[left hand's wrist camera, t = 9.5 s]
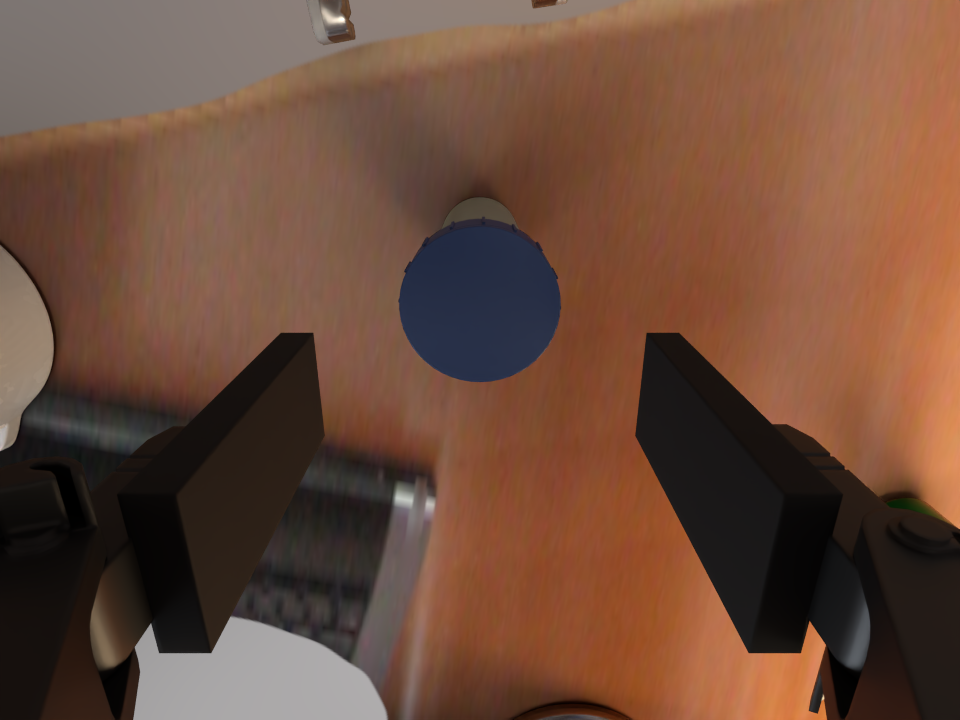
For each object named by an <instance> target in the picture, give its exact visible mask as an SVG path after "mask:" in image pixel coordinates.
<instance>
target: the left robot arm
mask: <svg viewBox="0 0 960 720" xmlns="http://www.w3.org/2000/svg"><path fill="white" fill-rule="evenodd" d="M324 436H325V435H324V426H323V417H322V408H321V398H320V389H319V380H318V371H317V362H316V353H315V344H314V335H313V333H280V334H279V335H278V336H277V337H276V338H275V339H274V340H273V341H272V342H271V343H270V344H269V345H268V346H267V347H266V348H265V349H264V350H263V351H262V352H261V353H260V354H259V355H258V356H257V357H256V358H255V359H254V360H253V361H252V362H251V363H250V364H249V365H248V366H247V367H246V368H245V369H244V370H243V371H242V372H241V373H240V374H239V375H238V376H237V377H236V378H235V379H234V380H233V381H232V382H231V383H230V384H228V385H227V386H226V387H225V388H224V389H223V390H222V391H221V392H220V393H219V394H218V395H217V396H216V397H215V398H214V399H213V400H212V401H211V402H210V403H209V404H208V405H207V406H206V407H205V408H204V409H203V410H202V411H201V412H200V413H199V414H198V415H197V416H196V417H195V418H194V419H193V420H192V421H191V422H190V423H189V424H188V425H187V426H173V427H171V428H169V429H167V430H166V431H164V432H162V433H160V434H158V435H156V436H154V437H152V438H150V439H148V440H147V441H146V442H145V443H144V444H143V445H141V446H140V447H139V448H138V449H137V450H136V451H135V452H134V453H133V454H132V455H130V459H126V460H125V461H124V462H123V463H122V464H121V465H119V466H118V467H117V468H116V472H112V473H111V474H110V475H108V476H107V477H106V478H105V479H104V480H103V481H102V482H101V483H100V484H99V485H98V486H96V487H95V488H94V489H93V490H92V491H91V492H90V491H89V487H88V484H87V480H86V477H85V473H84V470H83V466H82V464H81V463H79V462H78V461H76V460H74V459H73V458H65V457H46V458H36V459H31V460H27V461H22V462H18V463H14V464H10V465H7V466H5V467H2V468H0V720H133V717H134V710H135V703H136V696H137V689H138V682H139V675H140V669H139V662H138V658H137V654H136V651H135V646H136V644H137V643H138V641H139V640H140V638H141V637H142V635H143V634H144V632H145V631H146V629H147V628H148V627H149V625H150V624H152V628H153V632H154V636H155V639H156V643H157V647H158V650H159V653H211V652H212V651H213V649H214V647H215V645H216V643H217V641H218V639H219V637H220V635H221V633H222V631H223V630H224V628H225V626H226V624H227V622H228V620H229V618H230V616H231V614H232V612H233V610H234V608H235V606H236V605H237V603H238V601H239V599H240V597H241V595H242V593H243V591H244V589H245V587H246V585H247V583H248V582H249V580H250V578H251V576H252V574H253V572H254V570H255V568H256V566H257V564H258V562H259V560H260V559H261V557H262V555H263V553H264V551H265V549H266V547H267V545H268V543H269V541H270V539H271V537H272V536H273V534H274V532H275V530H276V528H277V526H278V524H279V522H280V520H281V518H282V516H283V514H284V512H285V511H286V509H287V507H288V505H289V503H290V501H291V499H292V497H293V495H294V493H295V491H296V489H297V488H298V486H299V484H300V482H301V480H302V478H303V476H304V474H305V472H306V470H307V468H308V466H309V465H310V463H311V461H312V459H313V457H314V455H315V453H316V451H317V449H318V447H319V445H320V443H321V442H322V440H323V438H324ZM635 436H636V438H637V440H638V442H639V443H640V445H641V447H642V449H643V451H644V453H645V455H646V457H647V459H648V461H649V463H650V465H651V466H652V468H653V470H654V472H655V474H656V476H657V478H658V480H659V482H660V484H661V486H662V488H663V489H664V491H665V493H666V495H667V497H668V499H669V501H670V503H671V505H672V507H673V509H674V511H675V513H676V514H677V516H678V518H679V520H680V522H681V524H682V526H683V528H684V530H685V532H686V534H687V536H688V537H689V539H690V541H691V543H692V545H693V547H694V549H695V551H696V553H697V555H698V557H699V559H700V560H701V562H702V564H703V566H704V568H705V570H706V572H707V574H708V576H709V578H710V580H711V582H712V583H713V585H714V587H715V589H716V591H717V593H718V595H719V597H720V599H721V601H722V603H723V605H724V607H725V608H726V610H727V612H728V614H729V616H730V618H731V620H732V622H733V624H734V626H735V628H736V630H737V631H738V633H739V635H740V637H741V639H742V641H743V643H744V645H745V647H746V649H747V651H748V653H801V650H802V647H803V643H804V639H805V636H806V632H807V628H808V624H809V621H810V622H811V623H812V625H813V626H814V628H815V629H816V631H817V632H818V634H819V635H820V637H821V638H822V640H823V641H824V642H825V644H826V647H825V651H824V654H823V658H822V661H821V665H820V668H819V672H818V675H817V679H816V682H815V686H814V689H813V693H812V696H811V701H810V707H809V711H811V712H814V713H817V714H818V711H819V708H820V704H821V701H822V700H824V701H825V708H826V715H827V720H960V529H958V528H957V527H955V526H953V525H951V524H949V523H947V522H944V521H942V520H940V519H938V518H935V517H933V516H930V515H927V514H923V513H919V512H916V511H912V510H908V509H899V508H890V507H889V506H888V505H887V504H886V503H884V502H883V501H882V500H881V499H880V498H879V497H878V496H877V495H876V494H874V493H873V492H872V491H871V490H870V489H869V488H868V487H867V486H866V485H865V484H863V483H862V482H861V481H860V480H859V479H858V478H857V477H856V476H855V475H853V474H852V473H851V472H850V471H849V470H845V466H843V465H842V464H841V463H840V462H839V461H838V460H837V459H836V458H835V457H830V453H829V452H828V451H827V450H826V449H825V448H824V447H822V446H821V445H820V444H819V443H818V442H817V441H816V440H815V439H814V438H812V437H810V436H808V435H806V434H804V433H803V432H801V431H799V430H797V429H795V428H793V427H791V426H789V425H787V424H771V423H770V422H769V421H768V420H767V419H766V418H765V417H764V416H763V415H762V414H761V413H760V412H759V411H758V410H757V409H756V408H755V407H754V406H753V405H752V404H751V403H750V402H749V401H748V400H747V399H746V398H745V397H744V396H743V395H742V394H741V393H740V392H739V391H738V390H737V389H736V388H735V387H734V386H733V385H732V384H730V383H729V382H728V381H727V380H726V379H725V378H724V377H723V376H722V375H721V374H720V373H719V372H718V371H717V370H716V369H715V368H714V367H713V366H712V365H711V364H710V363H709V362H708V361H707V360H706V359H705V358H704V357H703V356H702V355H701V354H700V353H699V352H698V351H697V350H696V349H695V348H694V347H693V346H692V345H691V344H690V343H689V342H688V341H687V340H686V339H685V338H684V337H683V336H682V335H681V334H680V333H647V335H646V344H645V353H644V362H643V371H642V380H641V389H640V398H639V407H638V417H637V426H636V435H635ZM513 720H630V719H628V718H627V717H625V716H623V715H621V714H619V713H617V712H614V711H612V710H609V709H606V708H602V707H598V706H592V705H584V704H561V705H553V706H548V707H543V708H539V709H536V710H533V711H530V712H527V713H525V714H523V715H521V716H519V717H517V718H515V719H513Z"/></svg>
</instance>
